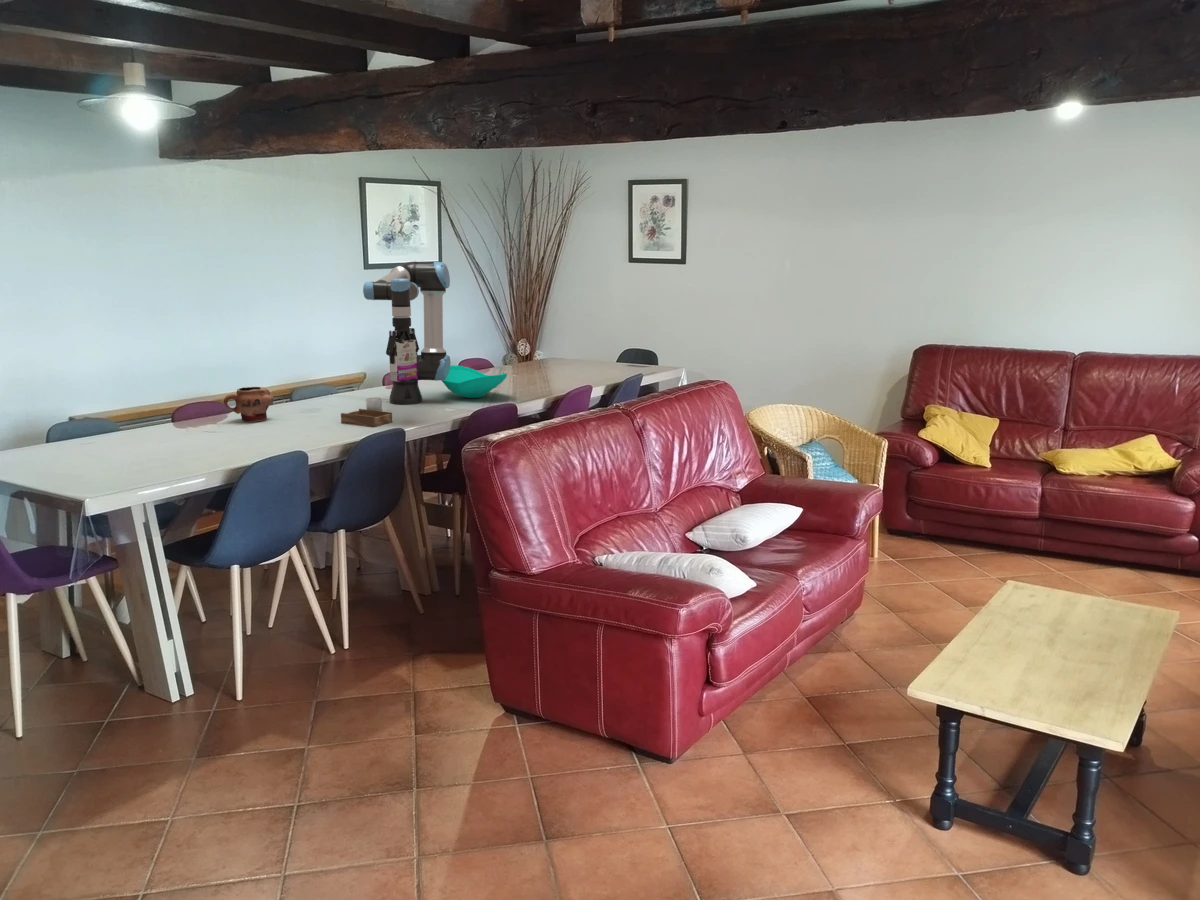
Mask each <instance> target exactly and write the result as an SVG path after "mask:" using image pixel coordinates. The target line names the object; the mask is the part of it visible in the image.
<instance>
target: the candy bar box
mask: <svg viewBox="0 0 1200 900" xmlns="http://www.w3.org/2000/svg"><path fill="white" fill-rule="evenodd" d="M396 346H397V352H396V354H395V356H397V372H392V371H391V364H390V363H389V372H390V373H389V375H390V377H389V378H390V381H391V382H393V381H394V382H402V381H408V380H414V379H418V370H417V355H418V352H417V351H416V340H402V341H401V342H395V344H394V347H396ZM389 352H390V351H389ZM388 358H389V360H390V356H389V357H388Z"/></svg>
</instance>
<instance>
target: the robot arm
mask: <svg viewBox="0 0 1200 900" xmlns="http://www.w3.org/2000/svg"><path fill="white" fill-rule="evenodd" d="M450 283H451V277H450V272H449V269H448V266H447V264H446V263H445V262H441V261H416V260H415V261H407V262H404V263H402V264H399V265H397V266H395V267H394V268H392V269H391V270H390V272H389V273H387V274H386V275H385V276H383V277H382V278H380V279H378V280H376V281H366V282H364V284H363V287H362V288H363V289H362V293H363V297H364V298H365V299H366V300H368V301H391V313H392V314H391V315H392V320H391V321H392V327H394V330H388V336H389V337H388V341H387V345H386V350H385V351H386V352H385V355H386V356H390V359H389V365H390V364H391V371H392V372H397V356H395V354H396V352H397V346H396V347H394V344H395V342H401V341H402V340H416V351H417V353H418V352H419V351H420V347H419V342H418V339H417V336H416V331H415V328H413V327H411V326H412V318H411V316H412V312H411V311H412V308H411V307H412V306H411V301H414V300H415V299H417V298H418V296H419V294H420V293H421V294H422V295H423V346H424V347H423V349H421V351H420V354H417V370H418V379H414V380H408V381H402V382H394V381H392V387H391V391H390V396H389V403H390V404H392V405H393V404H394V405H415V404H420V403H422V402H423V395H422V392H421V389H420V386H419V381H434V382H438V381H441V380H445V379H446V378H447V377H448V374H449V371H450V366H451V363H452V362H451V357H450V355H447V351H446V349H445V348H444V329H443V328H444V324H443V323H444V322H443V321H444V315H443V314H444V309H443V308H444V307H443V302H444V301H443V300H444V299H443V296H444V295H445V293H446V291H447V290H446V289H448V288H450V286H451V285H450ZM389 351H390V352H389Z"/></svg>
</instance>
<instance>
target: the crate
mask: <svg viewBox="0 0 1200 900" xmlns="http://www.w3.org/2000/svg"><path fill="white" fill-rule="evenodd" d="M390 422H391V423H393V412H392V411H391V412H389V411H384V410H382V411H375V410H367V408H366V409H363V408H358V410H354V411H352V412H347V413H345V412H341V413H340V423H341V424H344V425H346V424H347V425H352V426H353V425H354V426H355V425H356V426H361V427H362V426H363V427H369V428H375V427H379V426H382V425H387V424H390Z"/></svg>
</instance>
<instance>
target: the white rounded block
mask: <svg viewBox="0 0 1200 900" xmlns="http://www.w3.org/2000/svg"><path fill="white" fill-rule="evenodd" d="M382 400H383V399H382V398H381V397H367V398H365V405H366V410H375V411H383V402H382Z"/></svg>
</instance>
